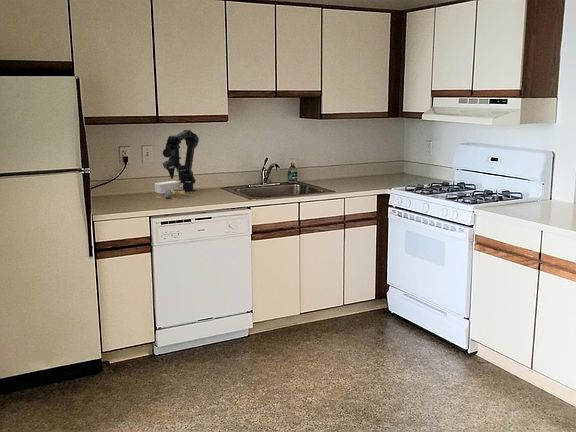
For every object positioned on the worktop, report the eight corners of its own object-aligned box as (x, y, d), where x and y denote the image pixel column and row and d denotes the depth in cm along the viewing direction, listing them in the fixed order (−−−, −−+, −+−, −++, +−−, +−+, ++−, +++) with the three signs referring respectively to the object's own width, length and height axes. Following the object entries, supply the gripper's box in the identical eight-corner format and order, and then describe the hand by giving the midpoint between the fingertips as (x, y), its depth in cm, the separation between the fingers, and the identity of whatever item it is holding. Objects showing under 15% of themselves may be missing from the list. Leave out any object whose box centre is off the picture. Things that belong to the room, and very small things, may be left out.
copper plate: (180, 194, 385) (180, 192, 385) (195, 197, 374) (195, 195, 374) (154, 198, 371) (154, 196, 371) (169, 201, 360) (169, 200, 360)
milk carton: (154, 183, 386) (178, 180, 399) (155, 193, 387) (178, 190, 400) (160, 184, 381) (184, 181, 394) (160, 195, 382) (184, 191, 395)
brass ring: (179, 193, 383) (179, 188, 382) (186, 194, 378) (186, 190, 377) (170, 194, 378) (170, 190, 377) (177, 196, 373) (177, 191, 372)
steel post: (169, 197, 368) (168, 189, 367) (172, 198, 365) (172, 190, 364) (164, 198, 365) (164, 190, 364) (167, 199, 363) (167, 191, 362)
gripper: (156, 155, 373) (157, 179, 376) (172, 158, 360) (173, 183, 364) (170, 153, 381) (171, 177, 384) (187, 156, 368) (188, 180, 371)
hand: (176, 179), depth 376 cm, fingers open, 9 cm apart
